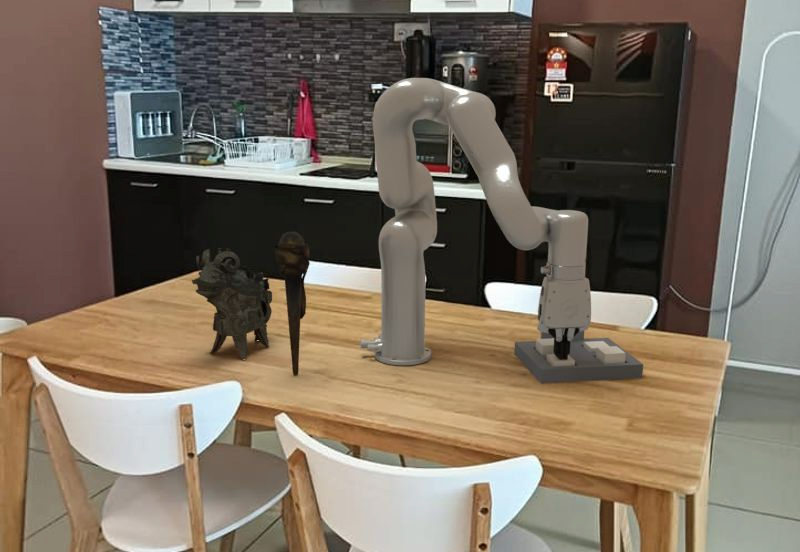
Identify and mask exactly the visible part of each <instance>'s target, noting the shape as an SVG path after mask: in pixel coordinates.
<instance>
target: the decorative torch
mask: <svg viewBox="0 0 800 552" xmlns="http://www.w3.org/2000/svg"><path fill="white" fill-rule="evenodd" d="M280 237H281V238H279V241H277V245H275V246H274V255H275V260H276V262H277V264H278V265H279V268H280V271H281V274H283V276H284V287H285V297H286V298H285V301H286V308H287V309H286V311H287V320H288V321H287V322H288V331H289V333H288V334H289V344H290V353H291V354H290V355H291V363H292V364H291V365H292V370H291V371H292V374H293V375H294V376H296V375H298V374H299V366H300V365H299V362H300V359H299V358H300V336H301V320H302V319H303V318H304V317H305V315H306V310H307V295H306V290H305V278H306V275H307V272H308V270H309V266H310V263H311V262H310V260H309V259H310V247H309V244H308V242H307V241H305V239H304V238H303V237H302V235H301V234H300V233H298V232H297V231H287V232H285V233H283V234H282V235H281V236H280Z"/></svg>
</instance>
